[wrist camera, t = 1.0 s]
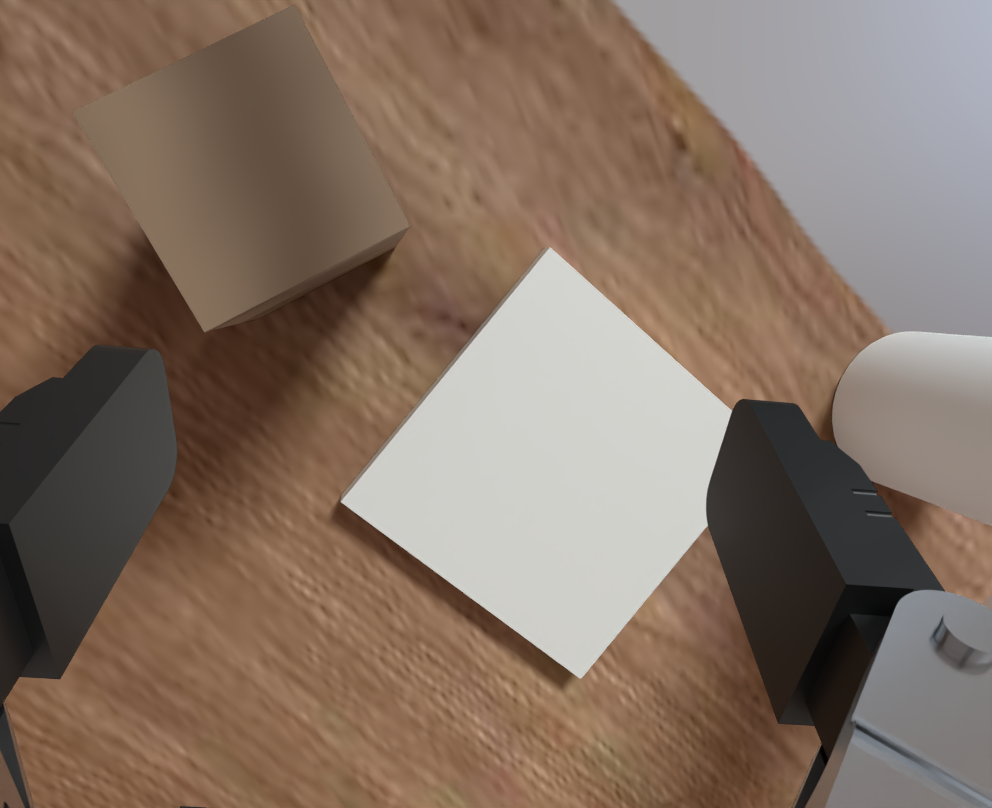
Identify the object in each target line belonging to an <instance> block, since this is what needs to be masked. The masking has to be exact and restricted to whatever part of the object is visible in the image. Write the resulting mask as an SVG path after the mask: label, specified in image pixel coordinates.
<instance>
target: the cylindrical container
mask: <svg viewBox="0 0 992 808" xmlns="http://www.w3.org/2000/svg"><path fill="white" fill-rule="evenodd" d="M832 425H833V432H834V438H835V440H836V443H837V446H838V448H840V449H841V450H842V451H843V452H845V453H846V454H847V455H848V456H850V457H851V458H852V459H853V460H855V461H856V462H857V463H858V464H860V466H861V467H862V469H863V470H864V472H865V473H866V475H867V476H868V478H869V479H870V481H873V482H875V483H878V484H881V485H883V486H886V487H889V488H891V489H894V490H897V491H899V492H902V493H905V494H907V495H910V496H913V497H915V498H918V499H921V500H923V501H926V502H929V503H931V504H934V505H937V506H939V507H942V508H945V509H947V510H950V511H953V512H955V513H958V514H961V515H963V516H966V517H969V518H971V519H974V520H977V521H980V522H982V523H985V524H988V525H990V526H992V337H982V336H968V335H955V334H940V333H927V332H899V333H895V334H891V335H888V336H885V337H883V338H881V339H879V340H877V341H875V342H873V343H871V344H870V345H869V346H868V347H866V348H865V349H864V350H862V351H861V352H860V353H859V354H858V355H857V356H856V357H855V359H854V360H853V361H852V362H851V363H850V364H849V366H848V367H847V369H846V371H845V372H844V374H843V376H842V377H841V380H840V382H839V385H838V387H837V389H836V393H835V397H834V402H833V408H832Z"/></svg>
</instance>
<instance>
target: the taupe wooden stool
mask: <svg viewBox="0 0 992 808" xmlns="http://www.w3.org/2000/svg"><path fill="white" fill-rule="evenodd" d="M72 113H73V115H74V116H75V118H76V120H77V121H78V123H79V125H80V126H81V128H82V130H83V131H84V133H85V135H86V136H87V138H88V140H89V141H90V143H91V145H92V146H93V148H94V150H95V151H96V153H97V154H98V156H99V158H100V159H101V161H102V163H103V164H104V166H105V168H106V169H107V171H108V173H109V174H110V176H111V178H112V179H113V181H114V183H115V184H116V186H117V188H118V189H119V191H120V193H121V194H122V196H123V198H124V199H125V201H126V203H127V204H128V206H129V208H130V209H131V211H132V213H133V214H134V216H135V218H136V219H137V221H138V223H139V224H140V226H141V228H142V229H143V231H144V233H145V234H146V236H147V238H148V239H149V241H150V243H151V244H152V246H153V248H154V249H155V251H156V253H157V254H158V256H159V258H160V259H161V261H162V263H163V264H164V266H165V268H166V269H167V271H168V273H169V274H170V276H171V278H172V279H173V281H174V283H175V284H176V286H177V288H178V289H179V291H180V292H181V294H182V296H183V297H184V299H185V301H186V302H187V304H188V306H189V307H190V309H191V311H192V312H193V314H194V316H195V317H196V319H197V321H198V322H199V324H200V326H201V327H202V329H203V331H204V332H208V331H212V330H216V329H220V328H224V327H228V326H232V325H236V324H240V323H243V322H247V321H251V320H255V319H259V318H261V317H263V316H264V315H266V314H268V313H270V312H272V311H274V310H276V309H278V308H280V307H282V306H284V305H286V304H288V303H289V302H291V301H293V300H295V299H297V298H299V297H301V296H303V295H305V294H307V293H309V292H311V291H313V290H315V289H316V288H318V287H320V286H322V285H324V284H326V283H328V282H330V281H332V280H334V279H336V278H338V277H340V276H341V275H343V274H345V273H347V272H349V271H351V270H353V269H355V268H357V267H359V266H361V265H363V264H365V263H367V262H368V261H370V260H372V259H374V258H376V257H378V256H380V255H382V254H384V253H386V252H388V251H390V250H392V249H393V248H395V247H396V246H397V244H398V243H399V242H400V240H401V239H402V237H403V236H404V234H405V233H406V231H407V230H408V228H409V227H410V225H409V223H408V221H407V219H406V217H405V215H404V213H403V211H402V209H401V208H400V206H399V204H398V202H397V200H396V198H395V196H394V194H393V192H392V190H391V188H390V186H389V184H388V183H387V181H386V179H385V177H384V175H383V173H382V171H381V169H380V167H379V165H378V163H377V161H376V159H375V158H374V156H373V154H372V152H371V150H370V148H369V146H368V144H367V142H366V140H365V138H364V136H363V135H362V133H361V131H360V129H359V127H358V125H357V123H356V121H355V119H354V117H353V115H352V113H351V111H350V110H349V108H348V106H347V104H346V102H345V100H344V98H343V96H342V94H341V92H340V90H339V88H338V86H337V85H336V83H335V81H334V79H333V77H332V75H331V73H330V71H329V69H328V67H327V65H326V63H325V61H324V60H323V58H322V56H321V54H320V52H319V50H318V48H317V46H316V44H315V42H314V40H313V38H312V37H311V35H310V33H309V31H308V29H307V27H306V25H305V23H304V21H303V19H302V17H301V15H300V13H299V12H298V10H297V8H296V6H295V5H292V6H290V7H288V8H286V9H284V10H282V11H280V12H278V13H276V14H274V15H272V16H270V17H268V18H266V19H264V20H261V21H259V22H257V23H255V24H253V25H251V26H249V27H247V28H245V29H243V30H241V31H239V32H237V33H235V34H233V35H231V36H228V37H226V38H224V39H222V40H220V41H218V42H216V43H214V44H212V45H210V46H208V47H206V48H204V49H202V50H200V51H197V52H195V53H193V54H191V55H189V56H187V57H185V58H183V59H181V60H179V61H177V62H175V63H173V64H171V65H169V66H166V67H164V68H162V69H160V70H158V71H156V72H154V73H152V74H150V75H148V76H146V77H144V78H142V79H140V80H138V81H135V82H133V83H131V84H129V85H127V86H125V87H123V88H121V89H119V90H117V91H115V92H113V93H111V94H109V95H107V96H105V97H102V98H100V99H98V100H96V101H94V102H92V103H90V104H88V105H86V106H84V107H82V108H80V109H78V110H76V111H74V112H72Z"/></svg>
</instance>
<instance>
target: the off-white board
mask: <svg viewBox="0 0 992 808" xmlns="http://www.w3.org/2000/svg"><path fill="white" fill-rule="evenodd" d="M731 413H732V411H731V410H730V409H729V408H728V407H727V406H726V405H725V404H724V403H722V402H721V401H720V400H719V399H718V398H717V397H716V396H715V395H714V394H712V393H711V392H710V391H709V390H708V389H707V388H706V387H705V386H704V385H702V384H701V383H700V382H699V381H698V380H697V379H696V378H695V377H694V376H692V375H691V374H690V373H689V372H688V371H687V370H686V369H685V368H684V367H682V366H681V365H680V364H679V363H678V362H677V361H676V360H675V359H674V358H672V357H671V356H670V355H669V354H668V353H667V352H666V351H665V350H664V349H662V348H661V347H660V346H659V345H658V344H657V343H656V342H655V341H654V340H652V339H651V338H650V337H649V336H648V335H647V334H646V333H645V332H644V331H642V330H641V329H640V328H639V327H638V326H637V325H636V324H635V323H634V322H633V321H631V320H630V319H629V318H628V317H627V316H626V315H625V314H624V313H623V312H621V311H620V310H619V309H618V308H617V307H616V306H615V305H614V304H613V303H611V302H610V301H609V300H608V299H607V298H606V297H605V296H604V295H603V294H601V293H600V292H599V291H598V290H597V289H596V288H595V287H594V286H593V285H591V284H590V283H589V282H588V281H587V280H586V279H585V278H584V277H583V276H581V275H580V274H579V273H578V272H577V271H576V270H575V269H574V268H573V267H571V266H570V265H569V264H568V263H567V262H566V261H565V260H564V259H563V258H561V257H560V256H559V255H558V254H557V253H556V252H555V251H554V250H553V249H552V248H550V247H549V248H545V249H543V251H542V252H541V253H540V254H539V256H538V257H537V258H536V259H535V260H534V262H533V263H532V264H531V265H530V266H529V268H528V269H527V270H526V271H525V273H524V274H523V275H522V276H521V277H520V279H519V280H518V281H517V282H516V284H515V285H514V286H513V287H512V288H511V290H510V291H509V292H508V293H507V294H506V296H505V297H504V298H503V299H502V301H501V302H500V303H499V304H498V305H497V307H496V308H495V309H494V310H493V312H492V313H491V314H490V315H489V316H488V318H487V319H486V320H485V321H484V322H483V324H482V325H481V326H480V327H479V329H478V330H477V331H476V332H475V333H474V335H473V336H472V337H471V338H470V339H469V341H468V342H467V343H466V344H465V346H464V347H463V348H462V349H461V350H460V352H459V353H458V354H457V355H456V357H455V358H454V359H453V360H452V361H451V363H450V364H449V365H448V366H447V367H446V369H445V370H444V371H443V372H442V374H441V375H440V376H439V377H438V378H437V380H436V381H435V382H434V383H433V385H432V386H431V387H430V388H429V389H428V391H427V392H426V393H425V394H424V395H423V397H422V398H421V399H420V400H419V402H418V403H417V404H416V405H415V406H414V408H413V409H412V410H411V411H410V412H409V414H408V415H407V416H406V417H405V419H404V420H403V421H402V422H401V423H400V425H399V426H398V427H397V428H396V430H395V431H394V432H393V433H392V434H391V436H390V437H389V438H388V439H387V440H386V442H385V443H384V444H383V445H382V447H381V448H380V449H379V450H378V451H377V453H376V454H375V455H374V456H373V457H372V459H371V460H370V461H369V462H368V464H367V465H366V466H365V467H364V468H363V470H362V471H361V472H360V473H359V475H358V476H357V477H356V478H355V479H354V481H353V482H352V483H351V484H350V485H349V487H348V488H347V489H346V490H345V492H344V493H343V494H342V495H341V503H343V504H344V505H345V506H347V507H348V508H349V509H351V510H352V511H353V512H355V513H356V514H358V515H359V516H360V517H362V518H363V519H364V520H366V521H367V522H368V523H370V524H371V525H372V526H374V527H375V528H377V529H378V530H379V531H381V532H382V533H383V534H385V535H386V536H387V537H389V538H390V539H391V540H393V541H394V542H395V543H397V544H398V545H400V546H401V547H402V548H404V549H405V550H406V551H408V552H409V553H410V554H412V555H413V556H414V557H416V558H417V559H419V560H420V561H421V562H423V563H424V564H425V565H427V566H428V567H429V568H431V569H432V570H433V571H435V572H436V573H438V574H439V575H440V576H442V577H443V578H444V579H446V580H447V581H448V582H450V583H451V584H452V585H454V586H455V587H456V588H458V589H459V590H461V591H462V592H463V593H465V594H466V595H467V596H469V597H470V598H471V599H473V600H474V601H475V602H477V603H478V604H480V605H481V606H482V607H484V608H485V609H486V610H488V611H489V612H490V613H492V614H493V615H494V616H496V617H497V618H499V619H500V620H501V621H503V622H504V623H505V624H507V625H508V626H509V627H511V628H512V629H513V630H515V631H516V632H518V633H519V634H520V635H522V636H523V637H524V638H526V639H527V640H528V641H530V642H531V643H532V644H534V645H535V646H536V647H538V648H539V649H541V650H542V651H543V652H545V653H546V654H547V655H549V656H550V657H551V658H553V659H554V660H555V661H557V662H558V663H560V664H561V665H562V666H564V667H565V668H566V669H568V670H569V671H570V672H572V673H573V674H574V675H576V676H577V677H579V678H580V679H581V678H582V677H583V676H584V674H585V673H586V672H587V671H588V670H589V668H590V667H591V666H592V665H593V664H594V662H595V661H596V660H597V659H598V658H599V656H600V655H601V654H602V653H603V651H604V650H605V649H606V648H607V647H608V645H609V644H610V643H611V642H612V641H613V639H614V638H615V637H616V636H617V635H618V633H619V632H620V631H621V630H622V628H623V627H624V626H625V625H626V624H627V622H628V621H629V620H630V619H631V618H632V616H633V615H634V614H635V613H636V611H637V610H638V609H639V608H640V607H641V605H642V604H643V603H644V602H645V601H646V599H647V598H648V597H649V596H650V595H651V593H652V592H653V591H654V590H655V588H656V587H657V586H658V585H659V584H660V582H661V581H662V580H663V579H664V578H665V576H666V575H667V574H668V573H669V572H670V570H671V569H672V568H673V567H674V565H675V564H676V563H677V562H678V561H679V559H680V558H681V557H682V556H683V555H684V553H685V552H686V551H687V550H688V549H689V547H690V546H691V545H692V544H693V542H694V541H695V540H696V539H697V538H698V536H699V535H700V534H701V533H702V532H703V530H704V529H705V528H706V527H707V525H708V523H707V517H706V497H707V490H708V485H709V482H710V479H711V476H712V472H713V469H714V466H715V463H716V460H717V457H718V454H719V450H720V447H721V444H722V441H723V438H724V435H725V432H726V428H727V425H728V422H729V419H730V416H731Z"/></svg>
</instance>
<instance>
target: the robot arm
mask: <svg viewBox="0 0 992 808" xmlns="http://www.w3.org/2000/svg"><path fill="white" fill-rule="evenodd" d="M176 462H177V441H176V434H175V428H174V422H173V416H172V409H171V403H170V397H169V390H168V384H167V378H166V372H165V366H164V362H163V359H162V357H161V355H160V353H159V352H158V351H157V350H155V349H146V348H134V347H122V346H110V345H96V346H94V347H92V348H91V349H90V350H89V351H88V352H87V353H86V354H85V355H84V356H83V358H82V359H81V360H80V361H79V362H78V363H77V364H76V365H75V366H74V367H73V368H72V369H71V370H70V371H69V372H68V373H67V375H66V376H65V377H64V378H54V377H52V378H50V379H48V380H46V381H45V382H43V383H41V384H39V385H37V386H35V387H33V388H31V389H29V390H27V391H26V392H24V393H22V394H20V395H18V396H16V397H15V398H14V399H13V400H12V401H11V402H10V403H9V404H8V405H7V406H6V407H5V408H4V409H3V410H2V411H1V412H0V808H34V804H33V800H32V796H31V793H30V789H29V785H28V781H27V777H26V774H25V770H24V766H23V762H22V759H21V755H20V751H19V747H18V743H17V740H16V736H15V732H14V728H13V725H12V721H11V717H10V713H9V711H8V708H7V706H6V703H5V699H6V697H7V696H8V694H9V693H10V691H11V689H12V688H13V686H14V685H15V683H16V681H17V680H18V678H19V677H31V678H48V679H61V677H62V675H63V673H64V672H65V670H66V668H67V666H68V664H69V663H70V661H71V659H72V657H73V656H74V654H75V652H76V650H77V649H78V647H79V645H80V643H81V642H82V640H83V638H84V636H85V635H86V633H87V631H88V629H89V628H90V626H91V624H92V622H93V621H94V619H95V617H96V615H97V614H98V612H99V610H100V608H101V607H102V605H103V603H104V601H105V600H106V598H107V596H108V594H109V593H110V591H111V589H112V587H113V586H114V584H115V582H116V580H117V579H118V577H119V575H120V573H121V572H122V570H123V568H124V566H125V565H126V563H127V561H128V559H129V558H130V556H131V554H132V552H133V550H134V549H135V547H136V545H137V543H138V542H139V540H140V538H141V536H142V535H143V533H144V531H145V529H146V528H147V526H148V524H149V522H150V521H151V519H152V517H153V515H154V514H155V512H156V510H157V508H158V507H159V505H160V503H161V501H162V500H163V498H164V496H165V494H166V493H167V491H168V489H169V487H170V485H171V483H172V480H173V477H174V473H175V469H176ZM891 514H892V512H891V510H890V509H889V507H888V506H887V504H886V503H885V501H884V500H883V498H882V497H881V496H877V489H876V488H875V487H874V485H873V484H872V482H871V481H870V479H869V478H868V476H867V475H866V473H865V472H864V470H863V469H862V467H861V466H860V464H858V463H857V462H856V461H855V460H853V459H852V458H851V457H850V456H848V455H847V454H846V453H845V452H843V451H842V450H841V449H840V448H838V447H837V446H836V445H835V444H833V443H832V442H831V441H825V440H820V439H819V437H818V436H817V434H816V433H815V431H814V429H813V428H812V426H811V425H810V423H809V421H808V420H807V418H806V417H805V415H804V414H803V412H802V410H801V409H800V408H799V406H798V405H796V404H794V403H785V402H772V401H760V400H748V399H741V400H740V401H738V402H737V403H736V405H735V406H734V408H733V410H732V413H731V416H730V419H729V422H728V425H727V428H726V432H725V435H724V438H723V441H722V444H721V447H720V450H719V454H718V457H717V460H716V463H715V466H714V469H713V472H712V476H711V479H710V482H709V485H708V490H707V497H706V517H707V523H708V527H709V531H710V533H711V536H712V539H713V542H714V545H715V547H716V550H717V553H718V556H719V559H720V561H721V564H722V567H723V570H724V573H725V575H726V578H727V581H728V584H729V587H730V590H731V592H732V595H733V598H734V601H735V604H736V606H737V609H738V612H739V615H740V618H741V620H742V623H743V626H744V629H745V632H746V634H747V637H748V640H749V643H750V646H751V648H752V651H753V654H754V657H755V660H756V663H757V665H758V668H759V671H760V674H761V677H762V679H763V682H764V685H765V688H766V691H767V693H768V696H769V699H770V702H771V705H772V707H773V710H774V713H775V716H776V719H777V721H778V724H792V725H810V726H815V728H816V730H817V733H818V735H819V738H820V740H821V744H820V745H819V747H818V749H817V751H816V753H815V755H814V756H813V758H812V760H811V763H810V765H809V768H808V770H807V772H806V775H805V777H804V779H803V782H802V784H801V786H800V789H799V791H798V793H797V796H796V798H795V800H794V803H793V805H792V807H791V808H992V610H990V609H989V608H987V607H985V606H983V605H981V604H979V603H978V602H975V601H973V600H970V599H968V598H966V597H963V596H960V595H957V594H953V593H949V592H945V590H944V589H943V587H942V586H941V584H940V583H939V581H938V580H937V578H936V577H935V575H934V574H933V572H932V571H931V569H930V568H929V566H928V565H927V564H926V562H925V561H924V559H923V558H922V556H921V555H920V553H919V552H918V550H917V549H916V547H915V546H914V544H913V543H912V541H911V540H910V538H909V537H908V535H907V534H906V532H905V531H904V529H903V528H902V527H901V525H900V524H899V522H898V521H897V519H896V518H892V516H891ZM180 808H204V807H184V806H180Z"/></svg>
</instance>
